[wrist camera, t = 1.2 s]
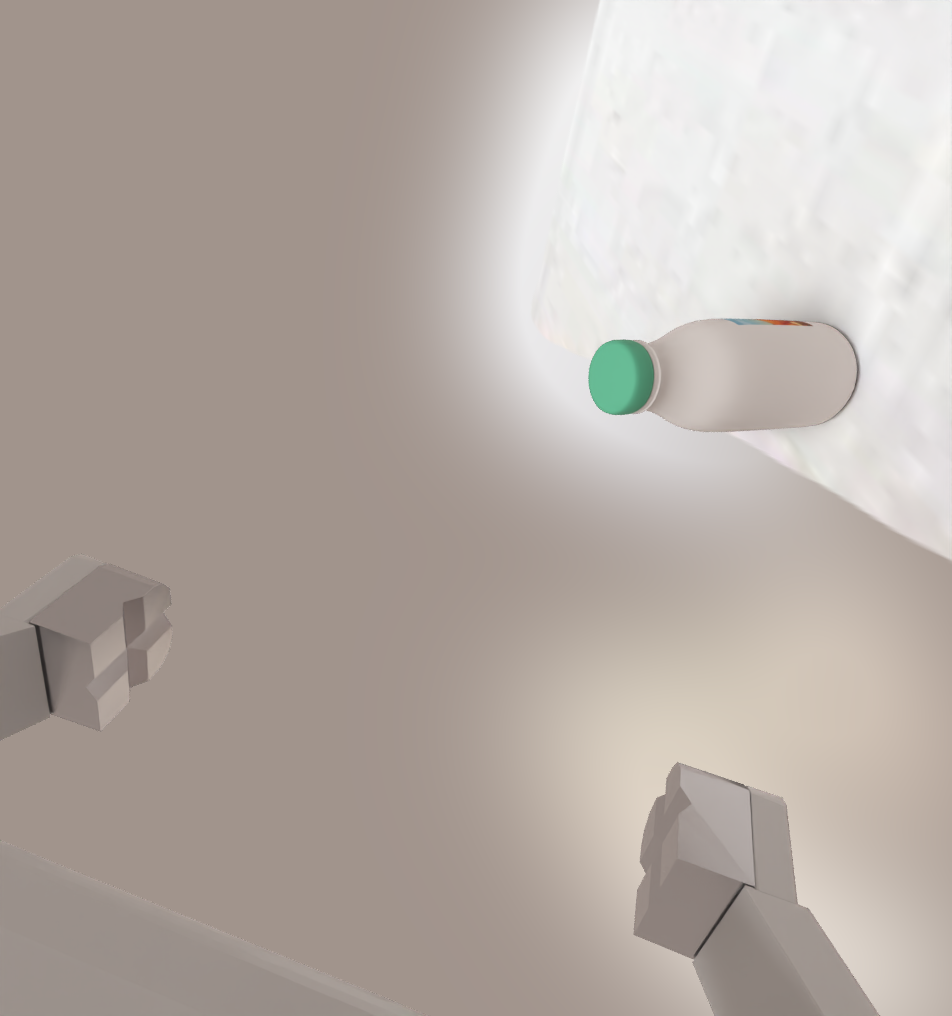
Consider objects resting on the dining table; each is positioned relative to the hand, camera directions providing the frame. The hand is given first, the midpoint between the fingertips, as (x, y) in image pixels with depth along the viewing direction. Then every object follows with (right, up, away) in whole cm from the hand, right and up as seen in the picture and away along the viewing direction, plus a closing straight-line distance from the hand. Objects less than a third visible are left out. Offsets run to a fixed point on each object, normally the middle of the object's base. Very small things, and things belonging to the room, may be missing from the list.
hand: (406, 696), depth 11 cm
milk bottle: (+27, +13, +45) cm, 54 cm away
